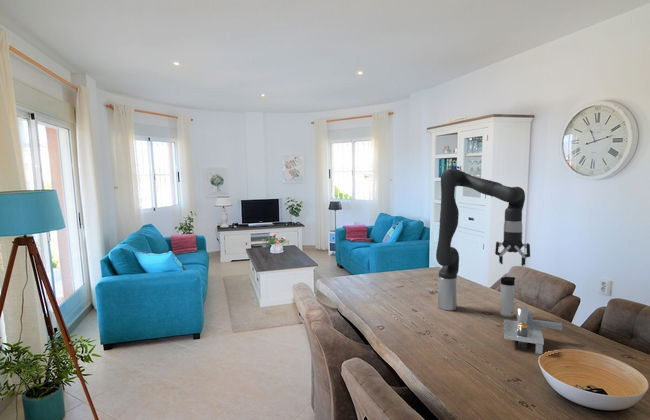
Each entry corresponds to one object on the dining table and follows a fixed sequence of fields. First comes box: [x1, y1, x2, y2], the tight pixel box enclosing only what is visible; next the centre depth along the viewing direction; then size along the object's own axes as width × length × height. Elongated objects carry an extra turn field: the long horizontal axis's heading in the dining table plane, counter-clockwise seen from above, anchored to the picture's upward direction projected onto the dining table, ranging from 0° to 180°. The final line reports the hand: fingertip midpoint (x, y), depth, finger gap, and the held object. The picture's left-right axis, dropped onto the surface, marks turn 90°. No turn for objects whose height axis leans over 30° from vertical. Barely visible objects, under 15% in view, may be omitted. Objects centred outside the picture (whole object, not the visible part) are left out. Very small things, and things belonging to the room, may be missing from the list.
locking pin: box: [517, 323, 528, 351], centre depth 146 cm, size 3×3×10 cm
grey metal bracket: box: [503, 306, 563, 355], centre depth 148 cm, size 22×16×14 cm
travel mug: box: [499, 276, 516, 319], centre depth 178 cm, size 6×7×20 cm
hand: (511, 264), depth 163 cm, fingers open, 8 cm apart
